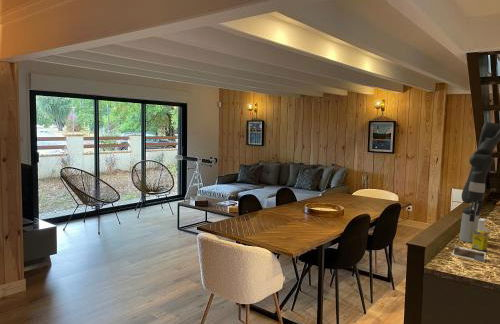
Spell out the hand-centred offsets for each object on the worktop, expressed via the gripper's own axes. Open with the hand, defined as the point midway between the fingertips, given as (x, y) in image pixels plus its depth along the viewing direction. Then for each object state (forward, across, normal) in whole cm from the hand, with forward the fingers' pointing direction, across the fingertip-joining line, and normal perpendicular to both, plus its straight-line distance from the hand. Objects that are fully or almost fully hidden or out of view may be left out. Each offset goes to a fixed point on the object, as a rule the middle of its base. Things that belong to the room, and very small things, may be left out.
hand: (471, 221), depth 205 cm
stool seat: (+18, -5, -1) cm, 19 cm away
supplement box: (+19, +16, -5) cm, 25 cm away
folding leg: (+17, -11, -2) cm, 20 cm away
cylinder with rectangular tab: (+20, +51, -3) cm, 55 cm away
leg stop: (+17, -14, -6) cm, 23 cm away
